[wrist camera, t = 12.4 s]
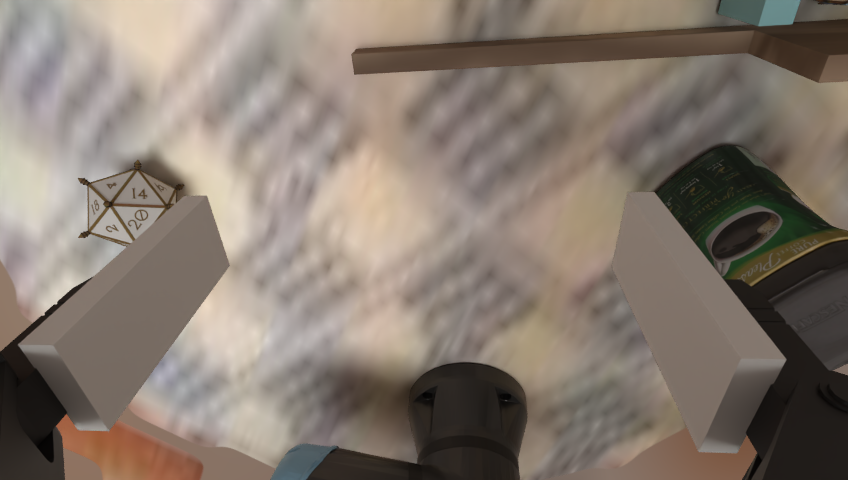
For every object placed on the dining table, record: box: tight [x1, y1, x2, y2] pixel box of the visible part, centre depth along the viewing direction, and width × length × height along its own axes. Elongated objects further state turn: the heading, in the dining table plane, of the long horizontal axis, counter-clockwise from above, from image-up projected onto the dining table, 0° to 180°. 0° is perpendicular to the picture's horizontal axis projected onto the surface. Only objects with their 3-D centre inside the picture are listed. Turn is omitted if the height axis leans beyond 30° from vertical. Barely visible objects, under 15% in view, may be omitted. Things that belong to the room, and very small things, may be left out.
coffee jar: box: [656, 146, 848, 371], centre depth 34 cm, size 10×8×19 cm
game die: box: [78, 160, 184, 247], centre depth 43 cm, size 9×8×10 cm
